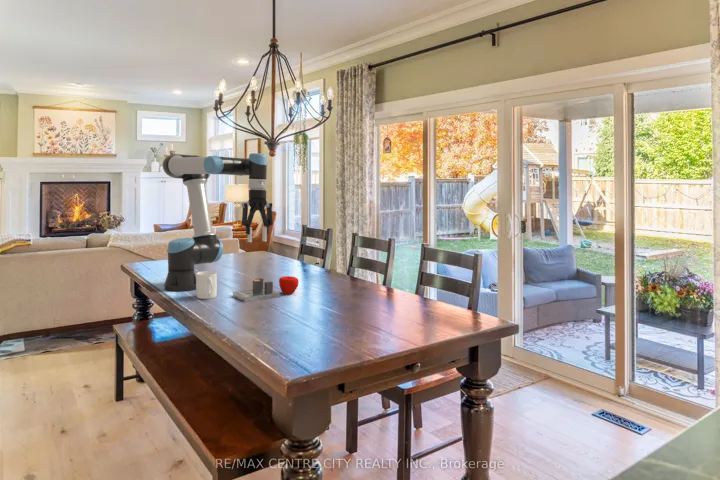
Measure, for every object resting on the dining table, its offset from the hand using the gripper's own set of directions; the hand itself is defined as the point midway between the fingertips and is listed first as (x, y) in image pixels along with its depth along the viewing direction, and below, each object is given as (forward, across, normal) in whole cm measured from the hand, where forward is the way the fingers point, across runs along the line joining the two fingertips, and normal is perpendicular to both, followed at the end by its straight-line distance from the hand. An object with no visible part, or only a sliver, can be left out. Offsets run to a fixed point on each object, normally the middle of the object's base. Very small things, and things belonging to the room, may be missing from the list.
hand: (257, 241), depth 215 cm
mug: (+25, -19, +9) cm, 33 cm away
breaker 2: (+23, +4, -4) cm, 24 cm away
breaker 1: (+23, +4, +4) cm, 24 cm away
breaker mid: (+23, 0, 0) cm, 23 cm away
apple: (+25, +16, -1) cm, 30 cm away
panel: (+25, 0, 0) cm, 25 cm away
